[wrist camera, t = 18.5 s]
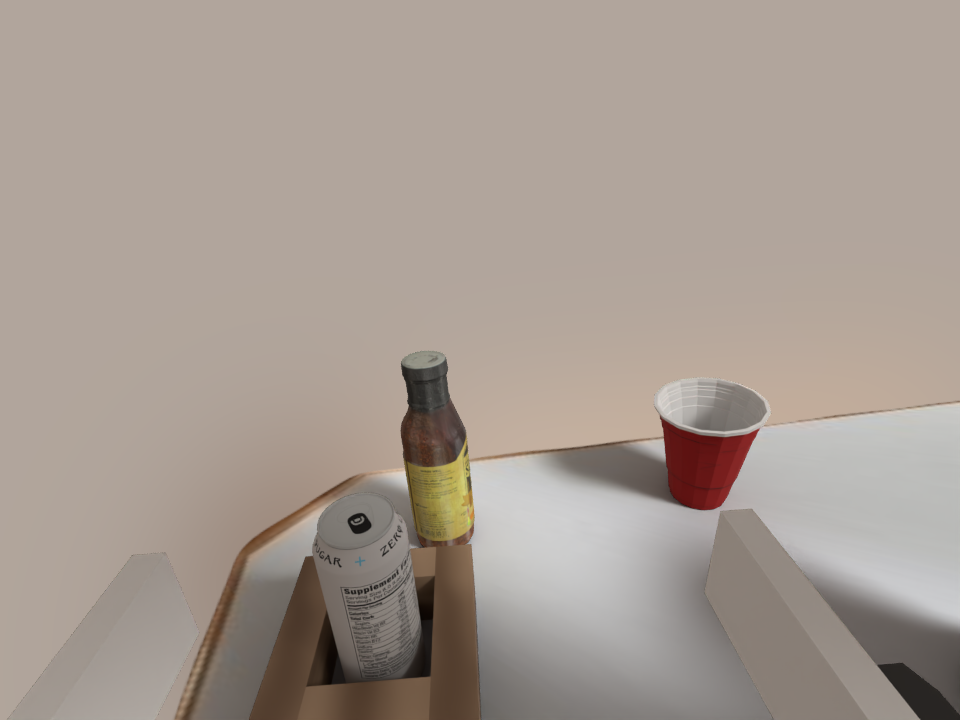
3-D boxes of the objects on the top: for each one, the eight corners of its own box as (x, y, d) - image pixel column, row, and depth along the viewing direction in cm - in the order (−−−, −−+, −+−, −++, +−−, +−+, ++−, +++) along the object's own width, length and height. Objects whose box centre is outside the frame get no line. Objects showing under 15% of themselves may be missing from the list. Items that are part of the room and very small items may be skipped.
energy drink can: (406, 620, 41) (382, 475, 35) (440, 680, 36) (420, 525, 30) (335, 660, 38) (296, 509, 32) (363, 730, 34) (322, 571, 27)
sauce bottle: (486, 539, 50) (476, 363, 42) (431, 566, 47) (408, 383, 39) (456, 502, 55) (441, 340, 47) (404, 525, 53) (379, 356, 44)
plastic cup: (626, 473, 59) (634, 384, 54) (705, 456, 61) (720, 369, 56) (680, 538, 49) (697, 437, 44) (773, 516, 51) (798, 417, 46)
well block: (475, 594, 44) (471, 544, 42) (484, 779, 32) (479, 723, 29) (318, 606, 44) (305, 556, 41) (264, 798, 31) (240, 743, 29)
